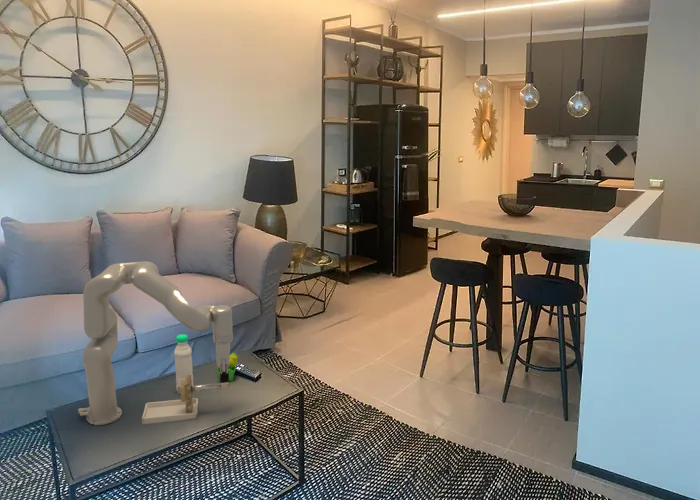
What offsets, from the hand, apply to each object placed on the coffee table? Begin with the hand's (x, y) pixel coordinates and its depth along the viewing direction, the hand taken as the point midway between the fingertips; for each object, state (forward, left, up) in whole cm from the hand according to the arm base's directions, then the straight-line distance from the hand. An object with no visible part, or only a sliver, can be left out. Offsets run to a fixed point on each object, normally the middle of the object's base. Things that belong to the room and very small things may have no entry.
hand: (224, 379), depth 212 cm
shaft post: (-14, 0, -13) cm, 19 cm away
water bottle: (-17, +18, -13) cm, 28 cm away
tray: (-21, 0, -13) cm, 25 cm away
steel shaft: (-8, 0, -4) cm, 9 cm away
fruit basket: (+1, +27, -13) cm, 30 cm away
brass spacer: (-16, 0, -6) cm, 17 cm away
